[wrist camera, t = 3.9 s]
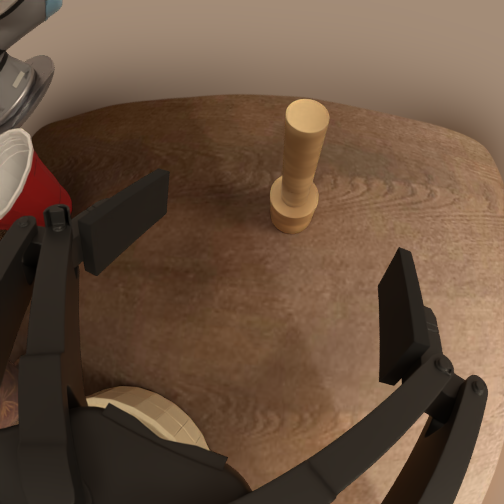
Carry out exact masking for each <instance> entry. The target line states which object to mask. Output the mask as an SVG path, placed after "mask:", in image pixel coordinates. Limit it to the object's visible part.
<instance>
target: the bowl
mask: <svg viewBox="0 0 504 504" xmlns="http://www.w3.org/2000/svg"><path fill="white" fill-rule="evenodd" d="M86 400H87V403H88V406H96V407H102V408H106V406H107V405H108V403H111V404H113V405H114V406H116V407H118V408H120V409H121V410H123V411H125V412H127V413H129V414H131V415H132V416H134V417H136V418H137V419H138V420H139V421H140V422H142V423H143V424H144V425H145V426H146V427H148V428H149V429H150V430H151V431H152V432H154V433H155V434H156V435H157V436H159V437H160V438H162V439H165V440H170V441H175V442H180V443H185V444H191V445H197V446H199V447H202V448H204V449H207V450H209V448H208V446H207V444H206V441H205V439H204V437H203V435H202V433H201V431H200V430H199V429H198V428H197V426H196V425H195V424H194V422H193V421H192V419H191V418H190V417H189V416H188V415H187V414H186V413H185V412H183V411H182V410H181V409H180V408H179V407H178V406H177V405H175V404H174V403H173V402H171V401H169V400H167V399H166V398H164V397H162V396H160V395H159V394H157V393H154V392H151V391H148V390H145V389H142V388H139V387H129V386H117V387H113V388H108V389H104V390H102V391H99V392H97V393H94V394H92V395H89V396H87V397H86ZM209 451H210V450H209Z"/></svg>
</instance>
